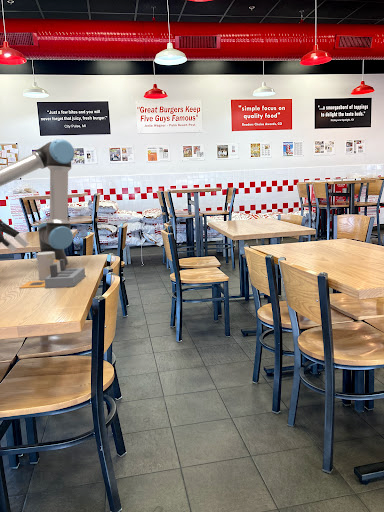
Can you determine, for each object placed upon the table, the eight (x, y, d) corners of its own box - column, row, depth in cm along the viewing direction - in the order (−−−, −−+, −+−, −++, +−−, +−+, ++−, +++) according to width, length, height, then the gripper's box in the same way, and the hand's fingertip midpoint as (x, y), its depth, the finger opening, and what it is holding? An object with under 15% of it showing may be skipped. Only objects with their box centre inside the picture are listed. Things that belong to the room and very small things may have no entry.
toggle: (56, 271, 191) (55, 259, 190) (60, 271, 191) (59, 259, 190) (54, 273, 188) (52, 261, 187) (58, 272, 188) (57, 260, 187)
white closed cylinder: (51, 280, 194) (49, 254, 192) (35, 280, 196) (32, 254, 194) (60, 276, 202) (58, 251, 200) (45, 276, 204) (42, 251, 202)
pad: (29, 282, 193) (29, 281, 193) (53, 281, 193) (53, 280, 193) (19, 288, 182) (19, 287, 182) (45, 287, 182) (45, 286, 182)
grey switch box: (59, 277, 200) (57, 258, 198) (85, 276, 200) (83, 257, 198) (45, 288, 180) (43, 267, 179) (73, 286, 180) (71, 265, 179)
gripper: (-8, 219, 207) (26, 249, 209) (-35, 225, 182) (4, 258, 184) (1, 208, 206) (36, 238, 208) (-24, 212, 181) (15, 245, 184)
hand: (21, 247), depth 196 cm, fingers open, 13 cm apart
